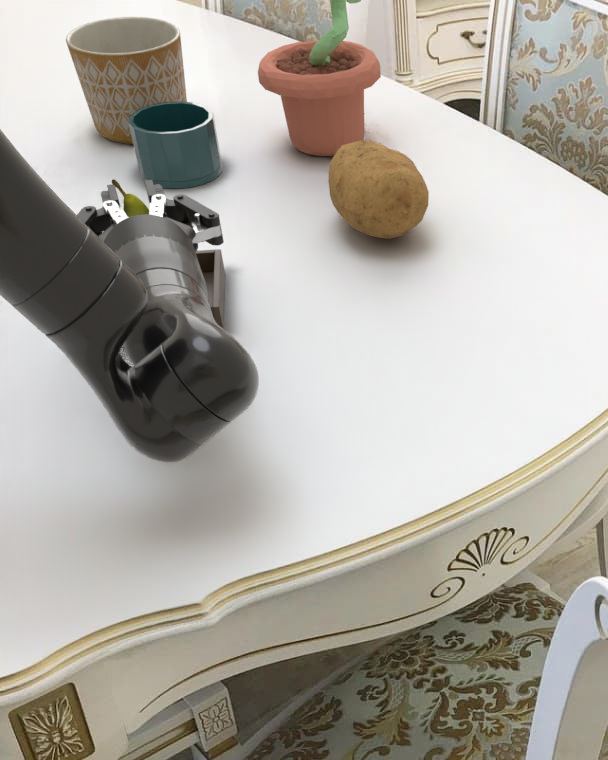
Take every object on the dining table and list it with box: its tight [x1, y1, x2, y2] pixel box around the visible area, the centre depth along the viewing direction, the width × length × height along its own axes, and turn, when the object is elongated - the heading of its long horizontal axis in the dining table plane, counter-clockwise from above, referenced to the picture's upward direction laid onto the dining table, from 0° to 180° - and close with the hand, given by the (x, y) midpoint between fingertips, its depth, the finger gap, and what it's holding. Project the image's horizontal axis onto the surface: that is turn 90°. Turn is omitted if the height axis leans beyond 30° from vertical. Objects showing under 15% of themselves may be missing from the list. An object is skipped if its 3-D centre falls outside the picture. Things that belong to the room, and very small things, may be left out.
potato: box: [328, 140, 430, 240], centre depth 114 cm, size 10×14×8 cm
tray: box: [196, 248, 226, 330], centre depth 104 cm, size 12×11×2 cm
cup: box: [128, 101, 223, 190], centre depth 124 cm, size 9×9×6 cm
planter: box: [65, 16, 188, 145], centre depth 130 cm, size 13×13×10 cm
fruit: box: [111, 178, 149, 217], centre depth 100 cm, size 6×6×12 cm
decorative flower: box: [257, 0, 382, 157], centre depth 121 cm, size 15×14×30 cm
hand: (131, 192), depth 100 cm, fingers closed on fruit, 2 cm apart
